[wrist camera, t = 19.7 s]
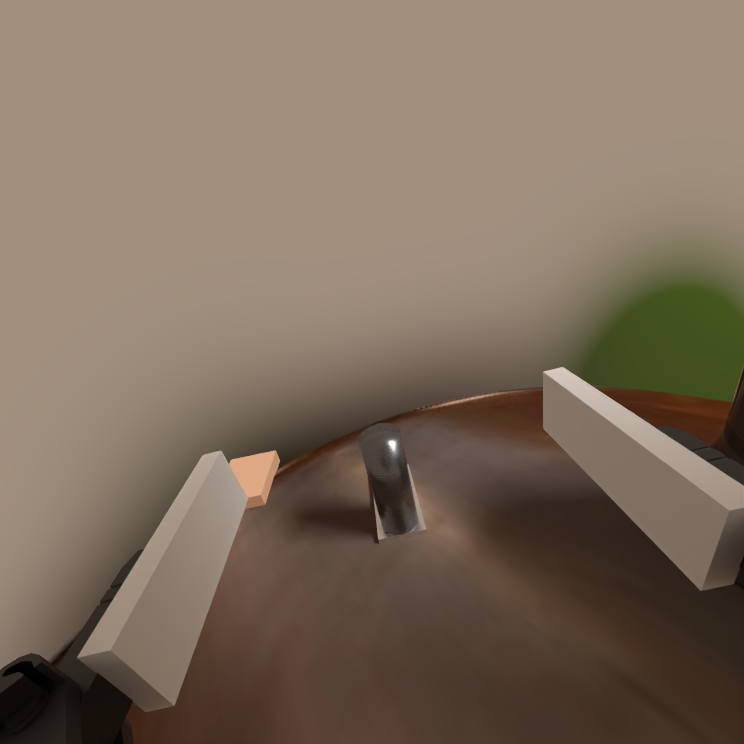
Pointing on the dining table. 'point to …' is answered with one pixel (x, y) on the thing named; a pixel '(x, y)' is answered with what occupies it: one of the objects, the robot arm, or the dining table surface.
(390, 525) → the metal post on base
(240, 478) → the tile
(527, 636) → the dining table surface
